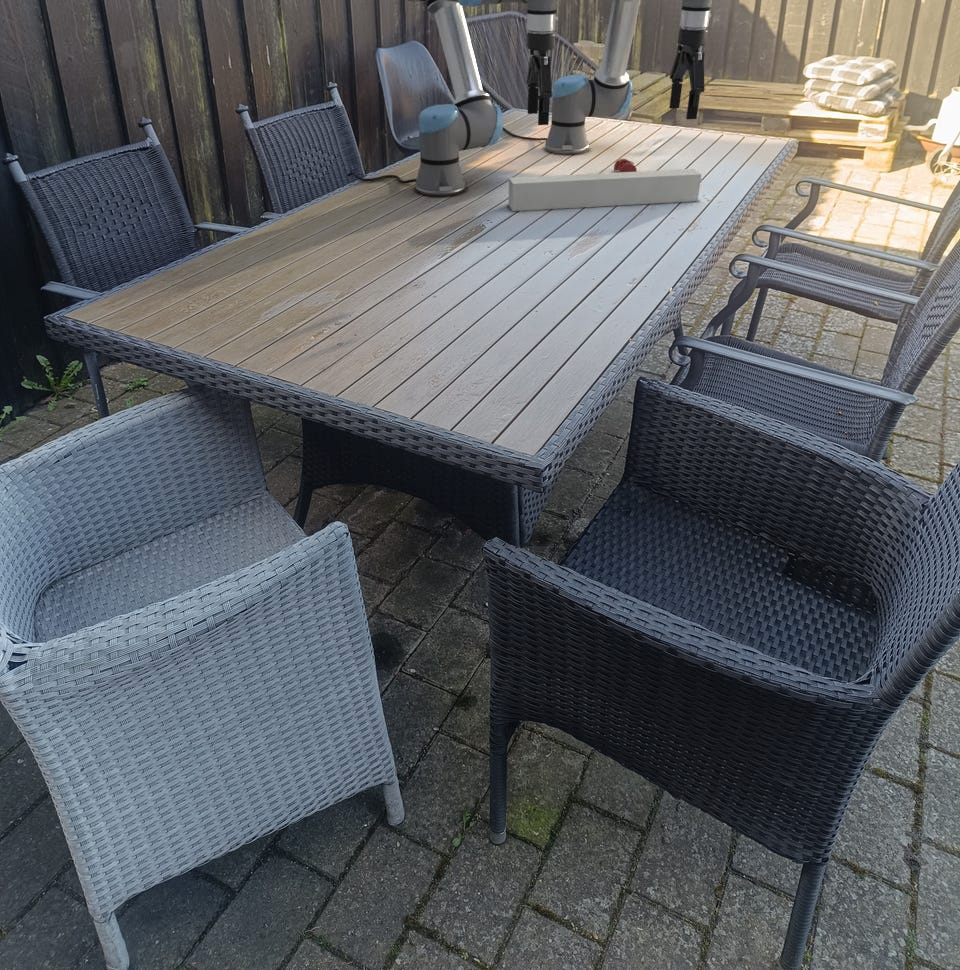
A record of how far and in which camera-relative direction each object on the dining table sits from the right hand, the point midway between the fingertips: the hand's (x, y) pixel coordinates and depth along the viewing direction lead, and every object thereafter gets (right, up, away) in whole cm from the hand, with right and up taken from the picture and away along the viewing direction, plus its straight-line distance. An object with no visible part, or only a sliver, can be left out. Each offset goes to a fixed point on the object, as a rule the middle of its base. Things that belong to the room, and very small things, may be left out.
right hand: (682, 113), depth 236 cm
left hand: (-41, -4, -5) cm, 42 cm away
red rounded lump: (-10, -3, +37) cm, 38 cm away
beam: (-21, -21, +11) cm, 32 cm away
